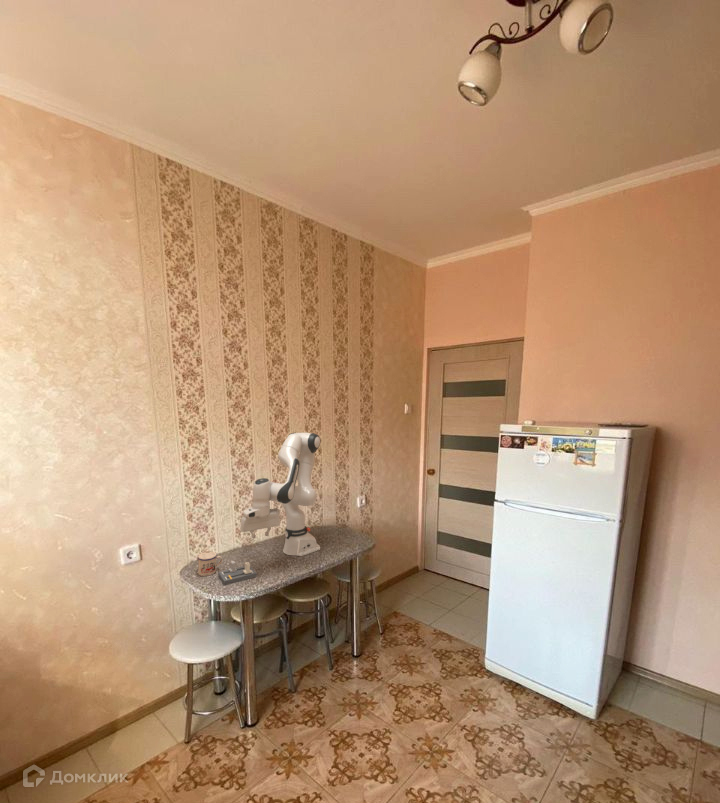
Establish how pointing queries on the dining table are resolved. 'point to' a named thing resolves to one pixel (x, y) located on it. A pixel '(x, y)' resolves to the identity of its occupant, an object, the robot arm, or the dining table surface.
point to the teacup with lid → (207, 563)
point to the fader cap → (247, 568)
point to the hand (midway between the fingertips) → (260, 536)
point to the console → (235, 574)
